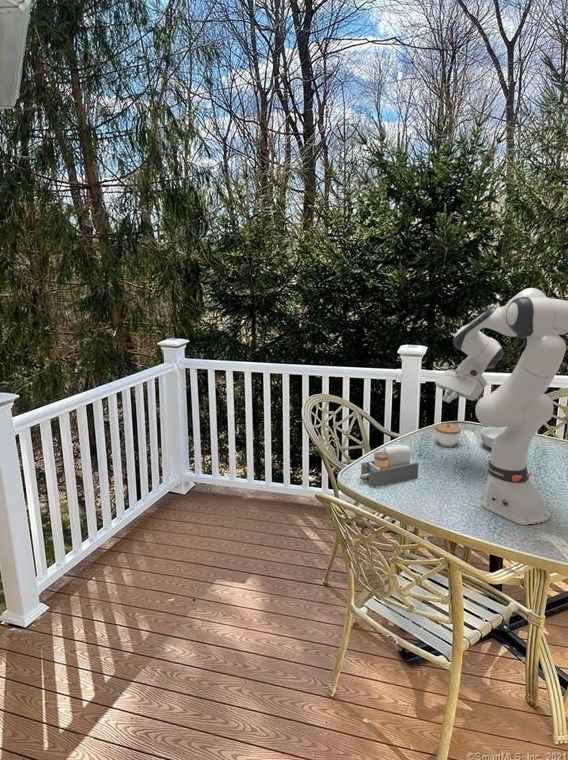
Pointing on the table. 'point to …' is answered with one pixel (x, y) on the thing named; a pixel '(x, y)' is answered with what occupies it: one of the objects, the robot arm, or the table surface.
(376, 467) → the pusher
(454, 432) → the lidded jar
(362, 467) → the lane
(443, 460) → the table surface
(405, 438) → the table surface
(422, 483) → the table surface
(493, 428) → the cereal bowl
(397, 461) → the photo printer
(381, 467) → the jar
